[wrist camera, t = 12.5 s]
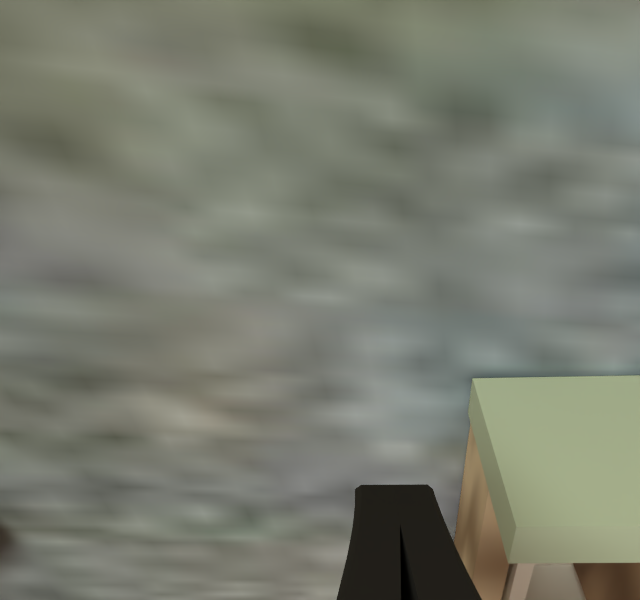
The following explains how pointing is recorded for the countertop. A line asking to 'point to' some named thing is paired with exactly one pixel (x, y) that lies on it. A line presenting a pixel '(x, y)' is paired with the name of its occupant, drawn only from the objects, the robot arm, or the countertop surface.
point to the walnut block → (609, 580)
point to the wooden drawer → (560, 475)
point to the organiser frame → (479, 530)
